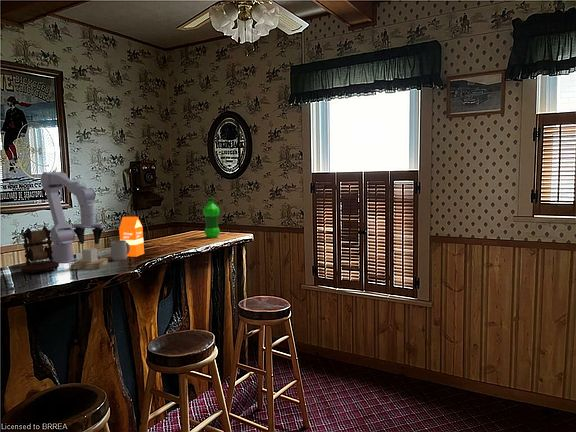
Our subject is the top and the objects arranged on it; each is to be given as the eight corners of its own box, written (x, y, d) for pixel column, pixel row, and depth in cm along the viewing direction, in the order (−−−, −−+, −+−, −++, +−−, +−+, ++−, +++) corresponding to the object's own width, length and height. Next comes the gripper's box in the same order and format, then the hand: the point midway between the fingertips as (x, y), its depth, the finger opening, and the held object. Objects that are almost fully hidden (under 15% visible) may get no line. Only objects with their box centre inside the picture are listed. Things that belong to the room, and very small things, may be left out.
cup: (108, 259, 211) (107, 242, 210) (125, 256, 220) (124, 238, 219) (117, 261, 208) (116, 243, 207) (134, 257, 216) (133, 239, 215)
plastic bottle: (201, 238, 268) (199, 198, 265) (209, 235, 278) (207, 197, 275) (215, 238, 265) (214, 198, 262) (223, 236, 275) (221, 197, 272)
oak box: (71, 271, 191) (71, 264, 191) (81, 265, 203) (81, 259, 203) (99, 270, 193) (99, 263, 192) (107, 264, 204) (107, 257, 204)
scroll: (51, 265, 202) (47, 223, 199) (64, 270, 192) (61, 226, 190) (16, 272, 190) (11, 227, 188) (28, 277, 181) (24, 230, 179)
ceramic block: (82, 262, 196) (82, 250, 196) (89, 259, 201) (88, 248, 200) (91, 262, 195) (90, 250, 195) (97, 260, 200) (97, 248, 199)
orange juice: (136, 256, 218) (133, 217, 215) (120, 256, 219) (118, 217, 217) (144, 253, 225) (142, 215, 223) (129, 253, 227) (126, 215, 225)
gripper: (67, 215, 195) (69, 245, 196) (96, 215, 193) (98, 245, 194) (77, 213, 202) (79, 242, 203) (105, 213, 199) (107, 242, 201)
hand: (89, 243), depth 199 cm, fingers open, 7 cm apart
